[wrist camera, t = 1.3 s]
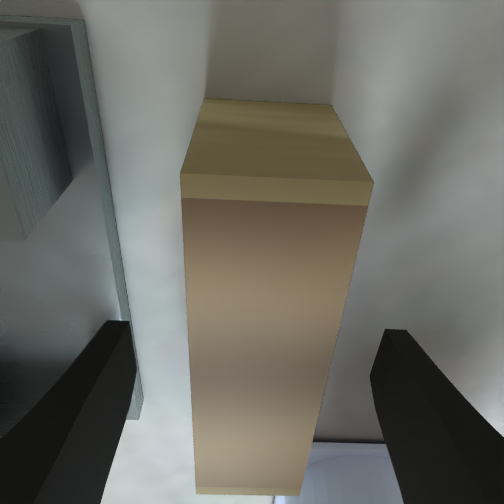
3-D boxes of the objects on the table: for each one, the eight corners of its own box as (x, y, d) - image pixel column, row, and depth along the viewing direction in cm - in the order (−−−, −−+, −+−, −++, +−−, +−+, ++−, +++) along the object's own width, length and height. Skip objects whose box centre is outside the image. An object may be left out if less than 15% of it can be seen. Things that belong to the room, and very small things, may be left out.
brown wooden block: (288, 378, 19) (299, 496, 15) (207, 376, 19) (196, 494, 15) (331, 105, 12) (373, 182, 8) (204, 98, 12) (179, 173, 8)
